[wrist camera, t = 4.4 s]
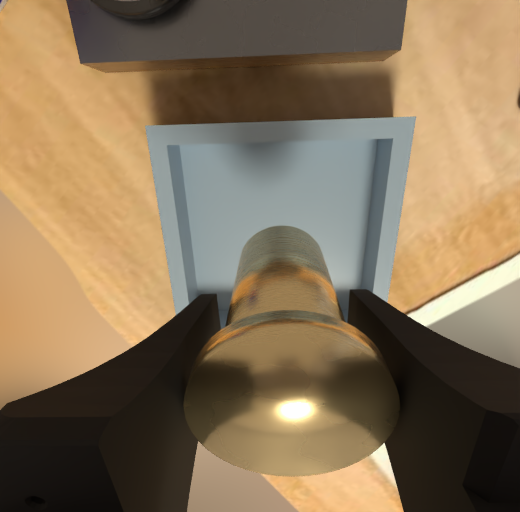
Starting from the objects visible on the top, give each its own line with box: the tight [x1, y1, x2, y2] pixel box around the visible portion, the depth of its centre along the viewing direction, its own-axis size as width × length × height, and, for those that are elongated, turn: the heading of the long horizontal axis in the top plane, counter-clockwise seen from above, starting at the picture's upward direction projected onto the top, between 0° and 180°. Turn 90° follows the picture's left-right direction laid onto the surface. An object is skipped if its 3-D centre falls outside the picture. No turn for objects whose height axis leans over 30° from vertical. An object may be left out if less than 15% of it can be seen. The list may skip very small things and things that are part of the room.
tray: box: [145, 117, 416, 329], centre depth 19 cm, size 14×14×3 cm
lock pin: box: [183, 226, 400, 476], centre depth 11 cm, size 5×5×8 cm
